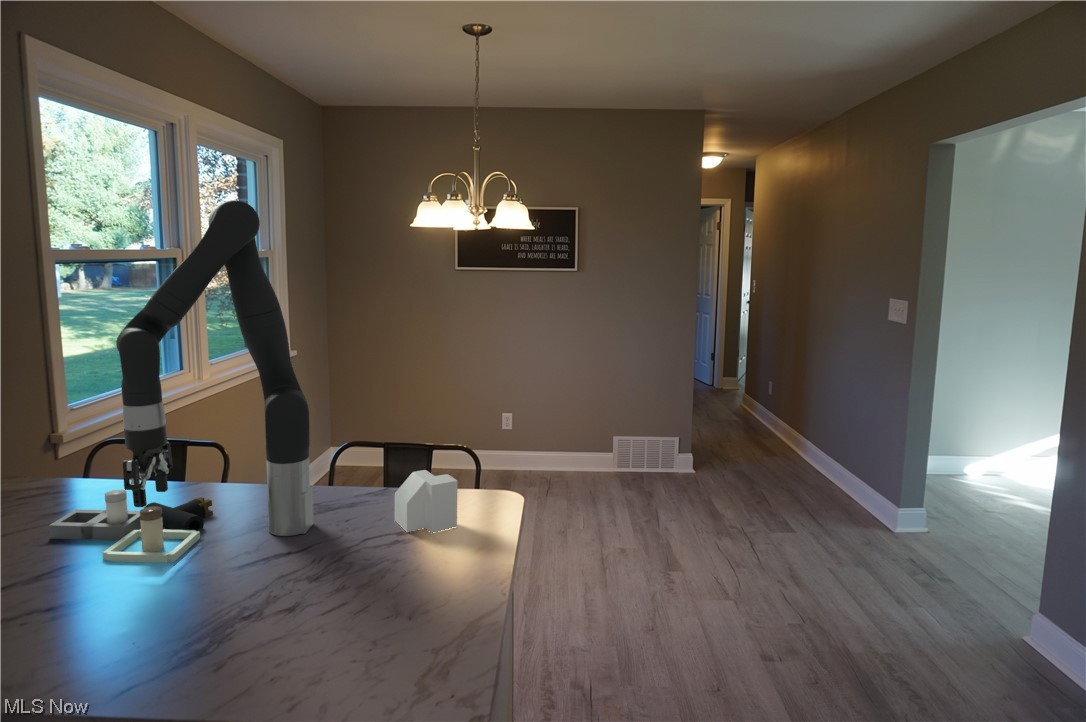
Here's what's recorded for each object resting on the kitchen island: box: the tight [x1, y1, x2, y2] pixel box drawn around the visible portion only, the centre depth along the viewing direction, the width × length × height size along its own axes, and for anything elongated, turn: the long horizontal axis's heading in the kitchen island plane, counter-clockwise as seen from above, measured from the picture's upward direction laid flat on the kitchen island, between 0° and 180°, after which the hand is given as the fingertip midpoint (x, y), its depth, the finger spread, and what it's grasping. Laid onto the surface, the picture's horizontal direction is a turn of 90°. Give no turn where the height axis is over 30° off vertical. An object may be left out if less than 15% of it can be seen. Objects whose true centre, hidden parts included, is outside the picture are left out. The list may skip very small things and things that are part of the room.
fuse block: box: [48, 508, 141, 541], centre depth 153 cm, size 16×9×4 cm, turn 91°
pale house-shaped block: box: [394, 469, 459, 534], centre depth 164 cm, size 11×11×12 cm
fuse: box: [104, 489, 129, 524], centre depth 153 cm, size 4×4×9 cm
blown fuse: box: [139, 506, 165, 553], centre depth 145 cm, size 4×4×9 cm
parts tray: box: [102, 528, 201, 566], centre depth 146 cm, size 14×12×2 cm
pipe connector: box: [143, 496, 214, 532], centre depth 161 cm, size 12×5×15 cm
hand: (151, 498), depth 144 cm, fingers open, 8 cm apart
